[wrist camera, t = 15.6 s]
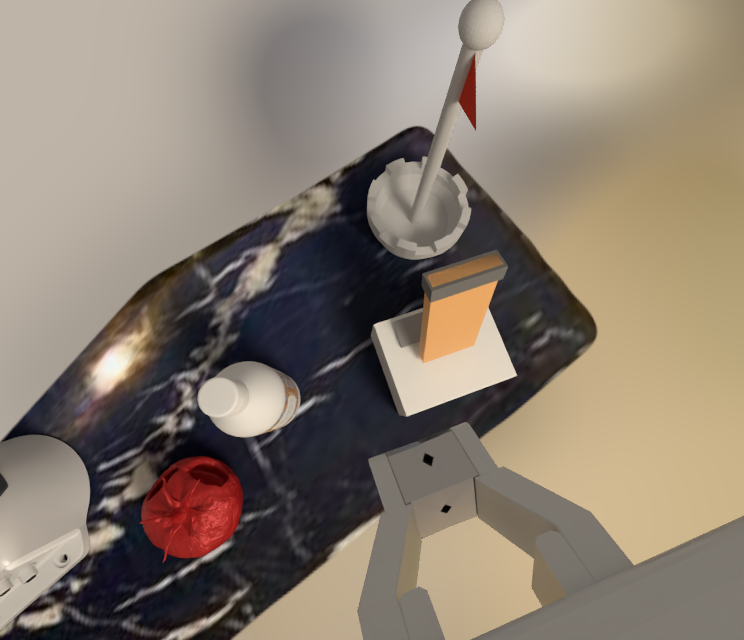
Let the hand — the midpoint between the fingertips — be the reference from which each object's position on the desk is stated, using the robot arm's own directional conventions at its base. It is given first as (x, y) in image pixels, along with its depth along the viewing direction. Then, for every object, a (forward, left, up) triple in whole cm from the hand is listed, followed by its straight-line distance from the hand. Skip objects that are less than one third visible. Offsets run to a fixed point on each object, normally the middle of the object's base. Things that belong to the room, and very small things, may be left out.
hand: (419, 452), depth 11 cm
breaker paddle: (+11, -3, -30) cm, 32 cm away
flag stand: (+25, +10, -38) cm, 46 cm away
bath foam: (-5, +10, -38) cm, 39 cm away
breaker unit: (+11, -3, -37) cm, 39 cm away
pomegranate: (-18, +9, -38) cm, 43 cm away
